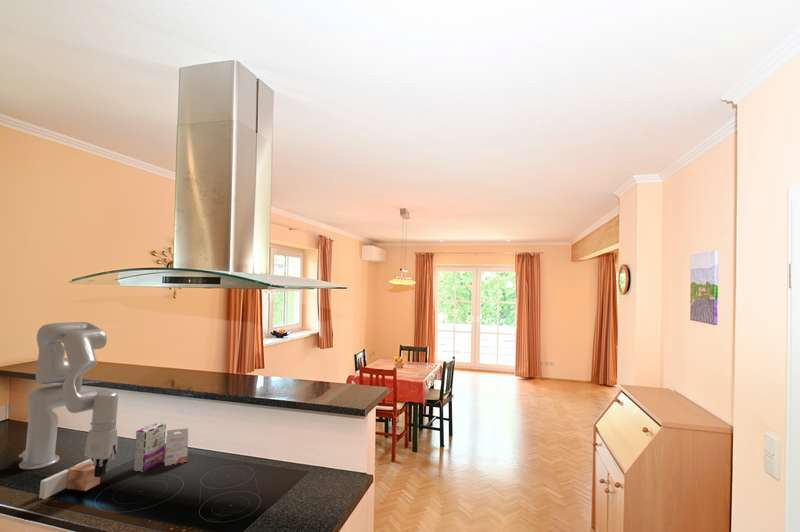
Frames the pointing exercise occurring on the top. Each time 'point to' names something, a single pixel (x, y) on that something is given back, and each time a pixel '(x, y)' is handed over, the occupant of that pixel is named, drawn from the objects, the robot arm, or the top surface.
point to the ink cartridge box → (176, 446)
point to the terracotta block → (82, 477)
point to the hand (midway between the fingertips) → (99, 475)
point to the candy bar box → (149, 446)
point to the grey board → (56, 482)
